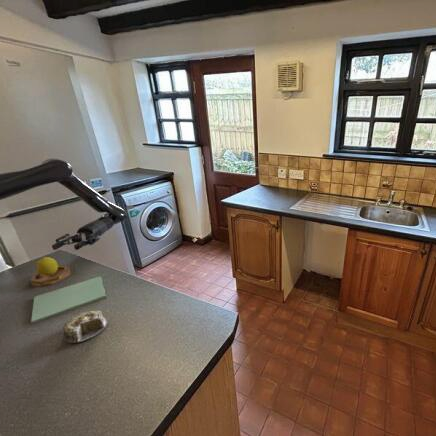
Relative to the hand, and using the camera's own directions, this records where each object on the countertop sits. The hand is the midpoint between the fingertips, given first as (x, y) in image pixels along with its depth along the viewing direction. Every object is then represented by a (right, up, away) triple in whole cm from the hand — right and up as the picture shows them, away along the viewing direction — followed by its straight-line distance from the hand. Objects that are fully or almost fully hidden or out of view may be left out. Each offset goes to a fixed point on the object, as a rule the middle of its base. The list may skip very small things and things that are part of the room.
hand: (64, 247), depth 97 cm
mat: (+17, -15, -15) cm, 27 cm away
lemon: (0, -10, -5) cm, 11 cm away
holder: (0, -11, -5) cm, 12 cm away
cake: (+32, -21, -27) cm, 47 cm away
